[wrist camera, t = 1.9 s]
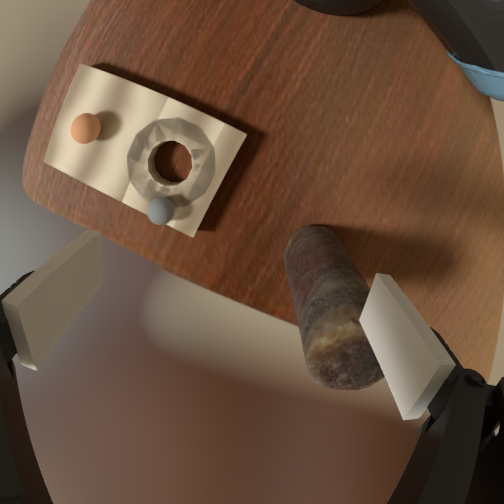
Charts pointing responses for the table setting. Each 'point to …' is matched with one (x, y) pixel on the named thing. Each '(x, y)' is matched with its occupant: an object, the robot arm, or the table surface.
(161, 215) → the grey ball
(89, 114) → the orange ball
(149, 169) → the board
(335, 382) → the candle
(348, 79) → the table surface
